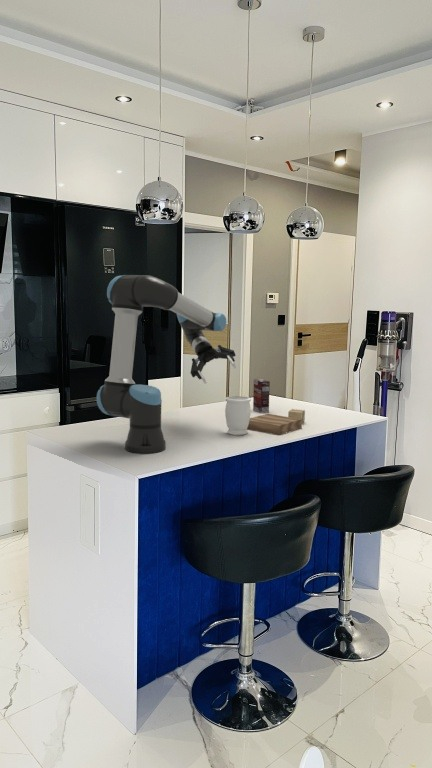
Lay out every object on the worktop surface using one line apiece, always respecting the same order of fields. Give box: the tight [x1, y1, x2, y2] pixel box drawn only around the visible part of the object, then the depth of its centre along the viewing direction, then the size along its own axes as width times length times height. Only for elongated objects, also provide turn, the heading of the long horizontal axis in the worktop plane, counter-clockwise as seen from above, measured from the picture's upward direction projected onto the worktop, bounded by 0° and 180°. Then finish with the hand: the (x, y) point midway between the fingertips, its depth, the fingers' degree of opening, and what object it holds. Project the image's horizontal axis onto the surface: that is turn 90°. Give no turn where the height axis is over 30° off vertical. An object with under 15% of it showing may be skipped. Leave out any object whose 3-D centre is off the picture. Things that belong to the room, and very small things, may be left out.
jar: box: [224, 395, 252, 436], centre depth 253 cm, size 11×10×15 cm
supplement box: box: [252, 378, 270, 414], centre depth 300 cm, size 9×5×16 cm, turn 25°
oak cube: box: [287, 408, 306, 425], centre depth 274 cm, size 6×6×6 cm
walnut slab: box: [246, 413, 303, 436], centre depth 263 cm, size 18×18×4 cm
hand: (219, 373), depth 244 cm, fingers open, 13 cm apart
